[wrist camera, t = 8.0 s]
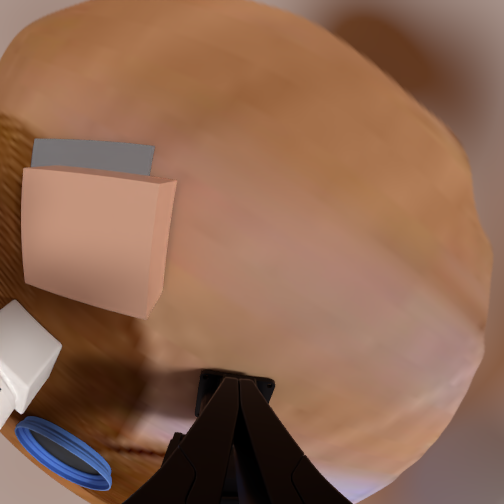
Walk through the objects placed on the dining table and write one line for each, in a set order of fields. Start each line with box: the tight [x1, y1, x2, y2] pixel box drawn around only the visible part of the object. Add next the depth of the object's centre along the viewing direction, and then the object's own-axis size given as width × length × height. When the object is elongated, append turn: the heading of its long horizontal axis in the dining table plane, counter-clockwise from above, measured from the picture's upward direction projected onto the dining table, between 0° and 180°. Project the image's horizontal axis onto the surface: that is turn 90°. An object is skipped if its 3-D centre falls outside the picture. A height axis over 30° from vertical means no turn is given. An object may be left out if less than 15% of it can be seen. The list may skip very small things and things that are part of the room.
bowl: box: [15, 416, 112, 491], centre depth 27 cm, size 18×18×4 cm
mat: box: [31, 139, 155, 176], centre depth 18 cm, size 12×11×1 cm
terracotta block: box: [21, 165, 177, 320], centre depth 16 cm, size 8×4×10 cm
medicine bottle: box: [0, 300, 62, 429], centre depth 15 cm, size 7×7×12 cm
